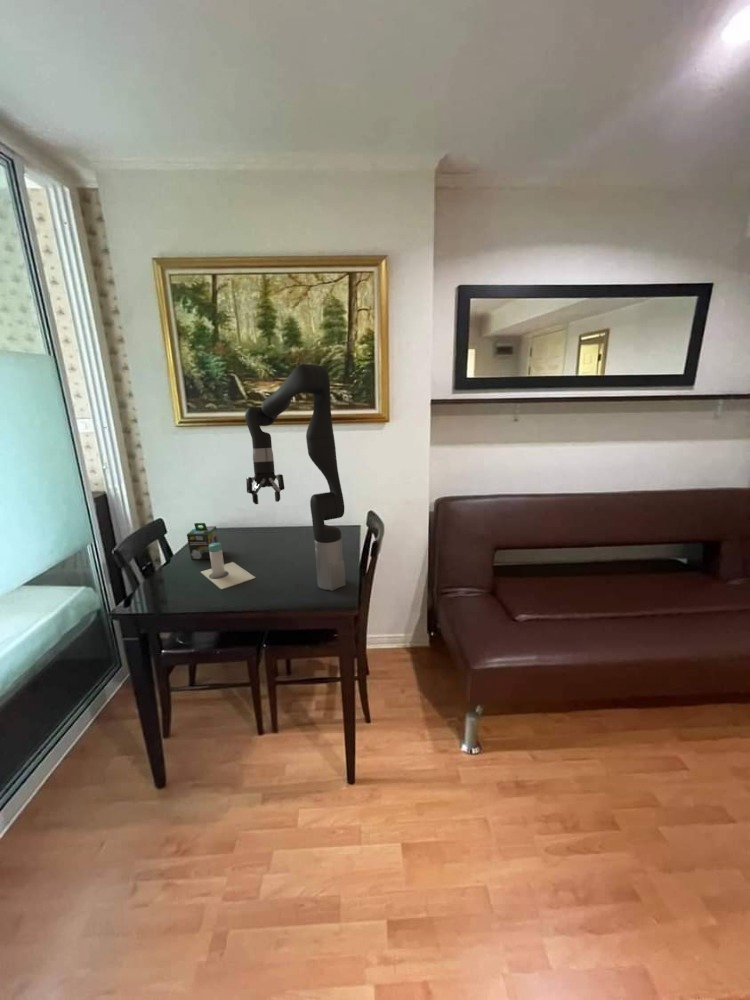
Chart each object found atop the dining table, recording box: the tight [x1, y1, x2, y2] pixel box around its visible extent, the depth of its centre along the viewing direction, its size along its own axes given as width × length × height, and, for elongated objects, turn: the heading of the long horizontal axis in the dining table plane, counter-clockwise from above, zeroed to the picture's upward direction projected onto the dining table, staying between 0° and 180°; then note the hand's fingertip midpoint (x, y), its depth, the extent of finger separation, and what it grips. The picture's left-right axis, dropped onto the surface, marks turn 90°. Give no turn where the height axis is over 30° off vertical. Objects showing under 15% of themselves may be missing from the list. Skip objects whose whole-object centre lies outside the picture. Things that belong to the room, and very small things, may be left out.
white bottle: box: [209, 542, 225, 577], centre depth 163 cm, size 4×4×12 cm
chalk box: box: [186, 522, 220, 560], centre depth 183 cm, size 9×9×15 cm
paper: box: [200, 561, 256, 590], centre depth 165 cm, size 20×13×1 cm, turn 41°
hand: (267, 502), depth 168 cm, fingers open, 8 cm apart
